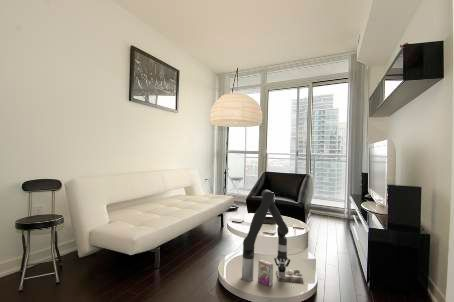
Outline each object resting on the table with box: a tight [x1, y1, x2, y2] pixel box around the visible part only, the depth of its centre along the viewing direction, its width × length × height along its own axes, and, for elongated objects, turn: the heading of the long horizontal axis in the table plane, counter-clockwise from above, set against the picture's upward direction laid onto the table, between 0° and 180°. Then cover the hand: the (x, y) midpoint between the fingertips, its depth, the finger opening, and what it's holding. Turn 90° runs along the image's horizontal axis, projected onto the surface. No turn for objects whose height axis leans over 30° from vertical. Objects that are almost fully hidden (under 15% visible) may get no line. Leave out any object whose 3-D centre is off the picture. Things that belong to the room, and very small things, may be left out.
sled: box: [277, 263, 285, 276], centre depth 199 cm, size 5×12×11 cm, turn 174°
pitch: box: [275, 268, 305, 284], centre depth 199 cm, size 20×16×4 cm
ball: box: [287, 269, 294, 275], centre depth 201 cm, size 4×4×4 cm
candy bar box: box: [257, 259, 274, 287], centre depth 187 cm, size 11×5×16 cm, turn 44°
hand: (281, 270), depth 195 cm, fingers closed on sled, 3 cm apart
